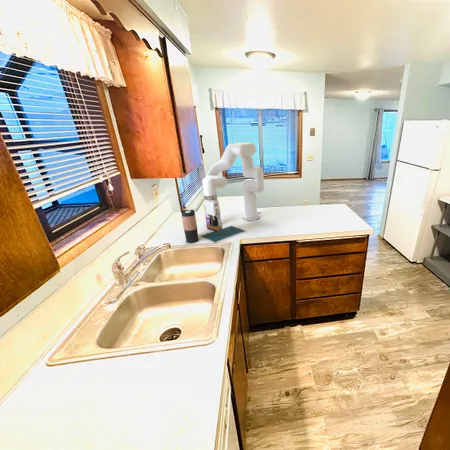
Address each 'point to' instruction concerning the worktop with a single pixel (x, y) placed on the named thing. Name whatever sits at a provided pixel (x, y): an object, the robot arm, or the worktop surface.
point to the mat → (223, 233)
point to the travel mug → (190, 226)
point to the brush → (214, 228)
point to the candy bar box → (209, 220)
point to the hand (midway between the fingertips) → (214, 224)
